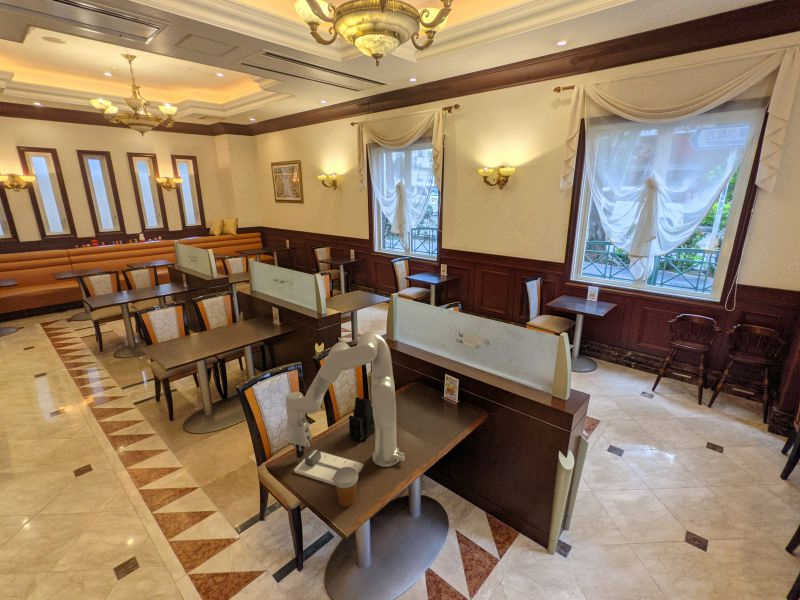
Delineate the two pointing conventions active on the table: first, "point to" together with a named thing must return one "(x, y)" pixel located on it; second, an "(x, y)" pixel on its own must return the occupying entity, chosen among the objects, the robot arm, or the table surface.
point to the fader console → (326, 467)
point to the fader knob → (313, 457)
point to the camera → (361, 420)
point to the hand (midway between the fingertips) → (300, 455)
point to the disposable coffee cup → (346, 485)
